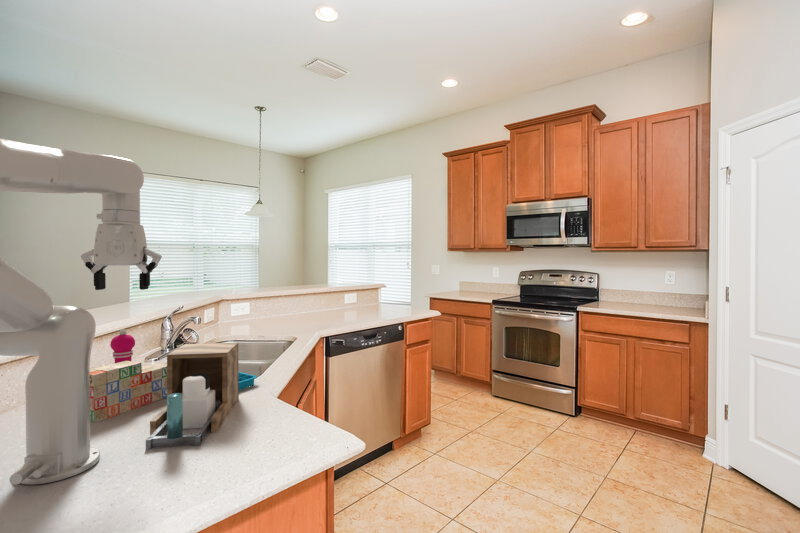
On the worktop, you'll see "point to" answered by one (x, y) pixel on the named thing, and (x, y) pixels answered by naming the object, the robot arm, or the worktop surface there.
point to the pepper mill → (122, 346)
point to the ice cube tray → (246, 380)
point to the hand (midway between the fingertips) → (122, 289)
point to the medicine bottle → (197, 400)
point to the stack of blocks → (125, 388)
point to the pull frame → (177, 426)
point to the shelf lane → (207, 360)
